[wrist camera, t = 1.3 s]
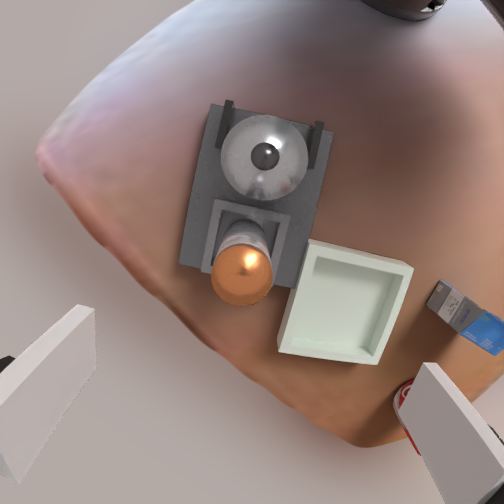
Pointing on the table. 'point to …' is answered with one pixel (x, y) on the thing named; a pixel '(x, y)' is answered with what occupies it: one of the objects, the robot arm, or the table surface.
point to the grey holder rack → (256, 186)
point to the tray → (343, 304)
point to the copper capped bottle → (242, 265)
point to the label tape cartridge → (468, 318)
